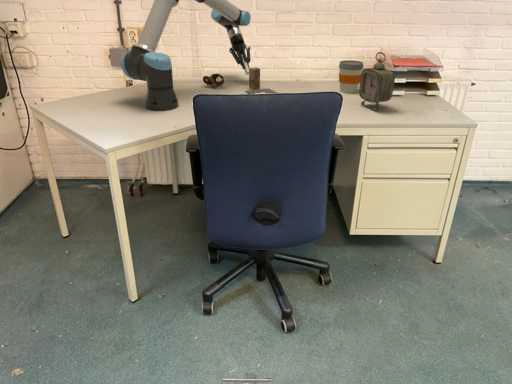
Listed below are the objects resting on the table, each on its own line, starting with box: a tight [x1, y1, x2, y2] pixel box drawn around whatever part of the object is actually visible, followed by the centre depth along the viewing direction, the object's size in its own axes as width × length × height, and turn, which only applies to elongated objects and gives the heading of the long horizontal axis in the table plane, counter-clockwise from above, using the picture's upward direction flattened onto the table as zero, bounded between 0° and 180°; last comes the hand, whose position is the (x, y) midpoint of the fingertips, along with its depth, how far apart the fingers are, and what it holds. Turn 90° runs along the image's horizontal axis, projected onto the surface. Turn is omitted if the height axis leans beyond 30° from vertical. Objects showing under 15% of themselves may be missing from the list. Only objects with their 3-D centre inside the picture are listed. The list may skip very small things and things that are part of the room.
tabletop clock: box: [358, 51, 396, 112], centre depth 184 cm, size 14×9×25 cm, turn 21°
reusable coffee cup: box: [338, 59, 364, 94], centre depth 215 cm, size 12×12×15 cm
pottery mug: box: [202, 73, 225, 90], centre depth 222 cm, size 12×10×8 cm
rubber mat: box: [244, 88, 278, 95], centre depth 213 cm, size 14×11×1 cm
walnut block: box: [248, 67, 261, 90], centre depth 218 cm, size 4×4×11 cm
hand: (247, 73), depth 225 cm, fingers closed
